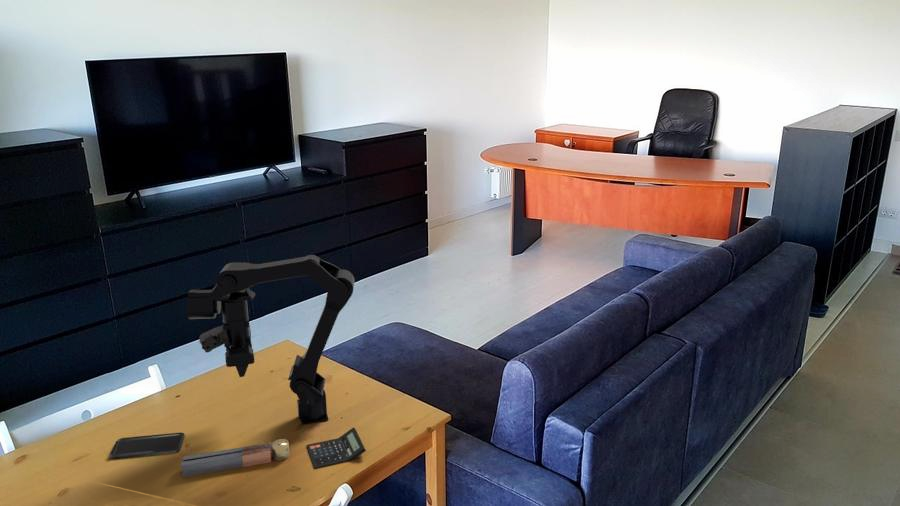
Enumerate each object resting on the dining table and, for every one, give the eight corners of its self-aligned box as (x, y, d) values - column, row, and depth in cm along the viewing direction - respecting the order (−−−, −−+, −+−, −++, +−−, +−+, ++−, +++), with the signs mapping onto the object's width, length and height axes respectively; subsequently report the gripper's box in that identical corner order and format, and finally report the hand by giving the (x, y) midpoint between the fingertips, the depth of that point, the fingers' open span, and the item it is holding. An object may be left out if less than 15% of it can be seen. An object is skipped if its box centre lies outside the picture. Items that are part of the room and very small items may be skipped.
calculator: (306, 448, 155) (306, 436, 154) (356, 437, 159) (355, 426, 158) (314, 470, 146) (314, 459, 146) (366, 459, 151) (365, 447, 150)
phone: (117, 438, 156) (185, 431, 159) (118, 442, 157) (185, 436, 159) (107, 457, 149) (178, 450, 152) (108, 462, 149) (179, 455, 152)
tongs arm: (289, 450, 153) (288, 437, 152) (290, 458, 150) (289, 446, 149) (185, 467, 147) (183, 454, 146) (183, 476, 143) (182, 463, 142)
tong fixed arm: (271, 458, 150) (270, 447, 149) (271, 462, 149) (270, 451, 148) (182, 473, 145) (181, 461, 144) (182, 478, 143) (180, 466, 142)
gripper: (200, 306, 164) (207, 364, 168) (198, 336, 147) (206, 400, 151) (247, 301, 167) (252, 358, 172) (251, 330, 150) (257, 392, 155)
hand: (241, 376), depth 162 cm, fingers closed
